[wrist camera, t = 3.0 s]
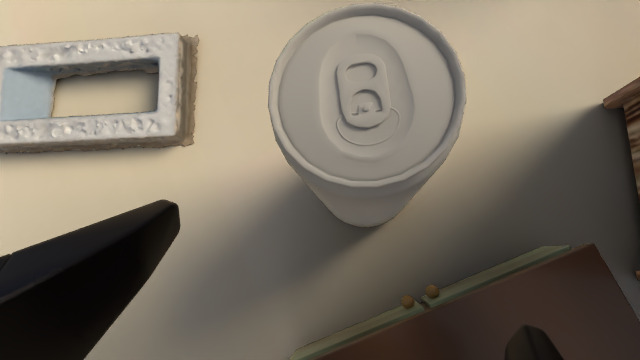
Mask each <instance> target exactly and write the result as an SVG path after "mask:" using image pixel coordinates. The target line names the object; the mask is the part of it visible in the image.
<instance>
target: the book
mask: <svg viewBox="0 0 640 360" xmlns="http://www.w3.org/2000/svg"><path fill="white" fill-rule="evenodd" d="M603 102H604V107H605V108H606V109H611V108H624V112H625V118H626V124H627V130H628V136H629V142H630V148H631V154H632V160H633V166H634V172H635V178H636V184H637V190H638V196H639V202H640V77H639V78H637V79H636V80H634V81H632V82H631V83H629V84H628V85H626V86H624V87H623V88H621V89H620V90H618V91H616V92H615V93H613V94H612V95H610V96H608V97H607V98H605V99H604V100H603ZM636 275H637V279H638V281H640V271H636Z"/></svg>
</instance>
